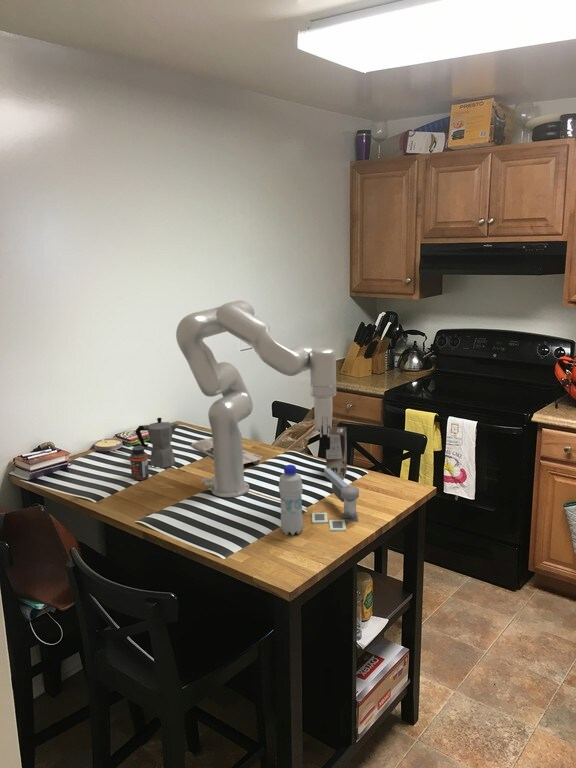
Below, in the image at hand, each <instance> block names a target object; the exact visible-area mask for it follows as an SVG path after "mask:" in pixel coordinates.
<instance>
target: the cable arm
mask: <svg viewBox="0 0 576 768" xmlns="http://www.w3.org/2000/svg"><path fill="white" fill-rule="evenodd" d="M323 475H324V476H325V478H326V477H327V478H328V479H327V478H326V479H327V480H329V481H330V482H331V492H332V493H333V495H335V497H337V499H339V500H340V502H341V503H344V499H347V500H354V499H356V500H357V499H359V497H360V489H359V488H358V487H357V486H353V485H349V484H347V483H346V482H345V480H344V479H343V480H342V479H341V478H340V477H339V476H338V475H336V474H335V473H334V472H333V471H332V470H331V469H330V468H327V469H326V468H324V469H323Z"/></svg>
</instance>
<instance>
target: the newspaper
mask: <svg viewBox="0 0 576 768" xmlns="http://www.w3.org/2000/svg"><path fill="white" fill-rule="evenodd" d="M190 446H191V448H193V449H195V450H196V449H197V451H198V452H200V453H202V454H203V455H206V456H208V457H210V458H211V459H213V460H214V451H213V438H212V437H210V438H205V439H200V440H196V441H195V442H192V443H191V445H190ZM262 458H263V456H261V455H259V454H256V453H253V452H250V451H247V450H245V449H243V465H245V464H248V463H251V464H253V465H259V464H260V462H261V461H260V460H261V459H262ZM243 468H245V467H244V466H243Z"/></svg>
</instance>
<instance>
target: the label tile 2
mask: <svg viewBox="0 0 576 768" xmlns="http://www.w3.org/2000/svg"><path fill="white" fill-rule="evenodd" d="M328 523H329V532H346V531H347V526H346V521H345V520H343V519H329V520H328Z"/></svg>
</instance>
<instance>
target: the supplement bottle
mask: <svg viewBox="0 0 576 768" xmlns="http://www.w3.org/2000/svg"><path fill="white" fill-rule="evenodd" d="M131 452H132V453H131V454H130V455H129V461H130V462H129V463H130V473H131V479H132V480H133V479H134V481H136V480H137V481H138V480H141V481H144V480H147V479H148V478H149V477H150V473H149V471H150V470H149V461H148V459H149V458H148V454H147V452H146V451H145V447H143V446H142V445H137V446H134V447H132V449H131Z"/></svg>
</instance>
